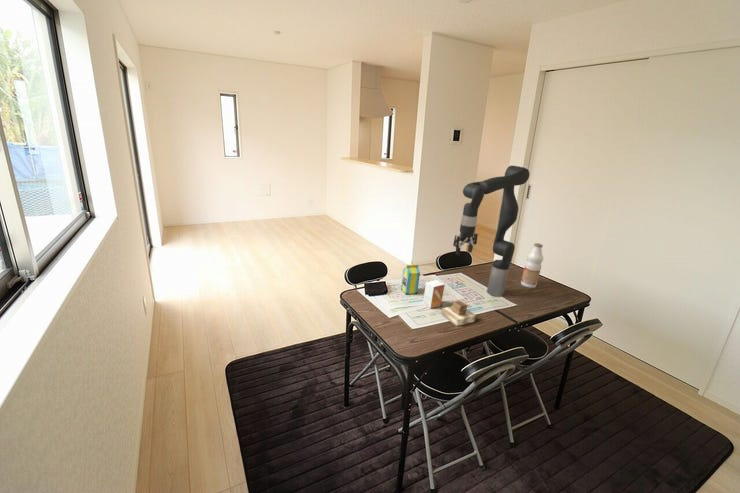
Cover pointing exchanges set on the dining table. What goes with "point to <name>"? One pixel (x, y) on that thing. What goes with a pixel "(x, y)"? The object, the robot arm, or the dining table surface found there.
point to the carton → (410, 279)
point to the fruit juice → (532, 267)
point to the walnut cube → (459, 307)
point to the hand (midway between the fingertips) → (463, 253)
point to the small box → (433, 294)
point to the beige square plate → (458, 316)
